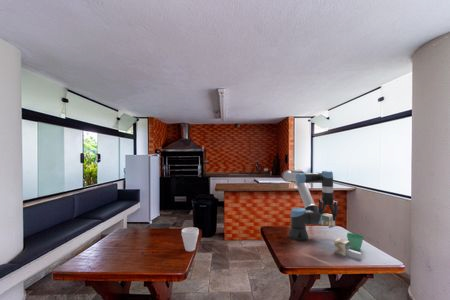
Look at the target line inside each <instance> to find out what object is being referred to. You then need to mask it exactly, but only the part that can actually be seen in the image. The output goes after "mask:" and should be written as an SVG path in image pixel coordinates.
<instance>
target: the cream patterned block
mask: <svg viewBox="0 0 450 300" xmlns="http://www.w3.org/2000/svg"><path fill="white" fill-rule="evenodd" d="M331 216H332V213H324V214H322V215H321V223H322V224H321V227H325V226H328V229H331V228H334V227H336V224H335V225H333V226H332V218H331Z"/></svg>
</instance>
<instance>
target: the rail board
mask: <svg viewBox="0 0 450 300" xmlns="http://www.w3.org/2000/svg"><path fill="white" fill-rule="evenodd" d="M333 253H334V254H336V255H340V256H343V257H346V258H348V259H352V260H355V261H357V262H362V261H364V260H365V259H366V257H363V254H362V252H360V251H358V250H354V249H351V248H350V249H348V248H347V249H346V256H344V255H341V254H338V253H336V252H333Z"/></svg>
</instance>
